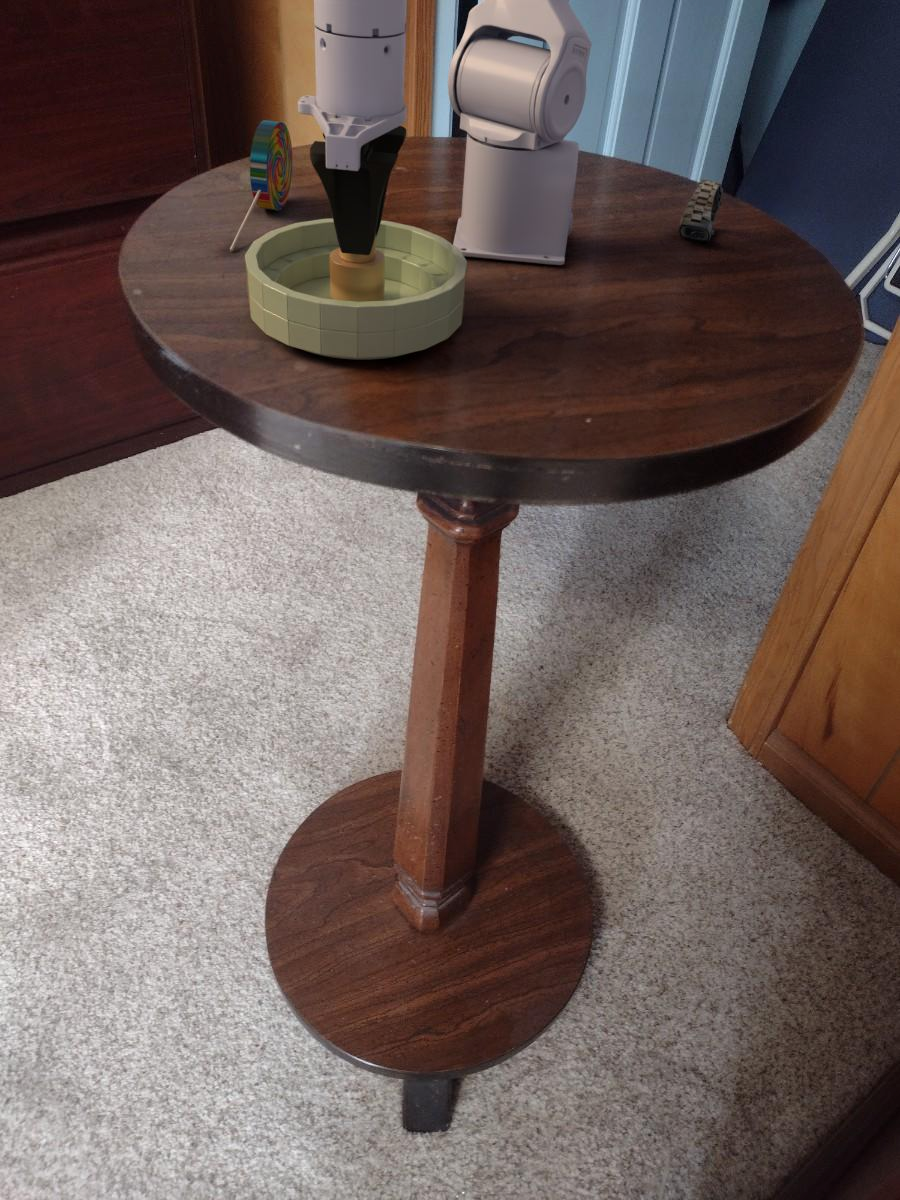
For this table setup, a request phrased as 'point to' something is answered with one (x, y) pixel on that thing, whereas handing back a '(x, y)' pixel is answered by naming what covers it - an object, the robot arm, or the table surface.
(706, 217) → the wristwatch
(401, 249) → the bowl
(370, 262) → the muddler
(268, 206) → the lollipop
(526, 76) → the robot arm
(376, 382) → the table surface
